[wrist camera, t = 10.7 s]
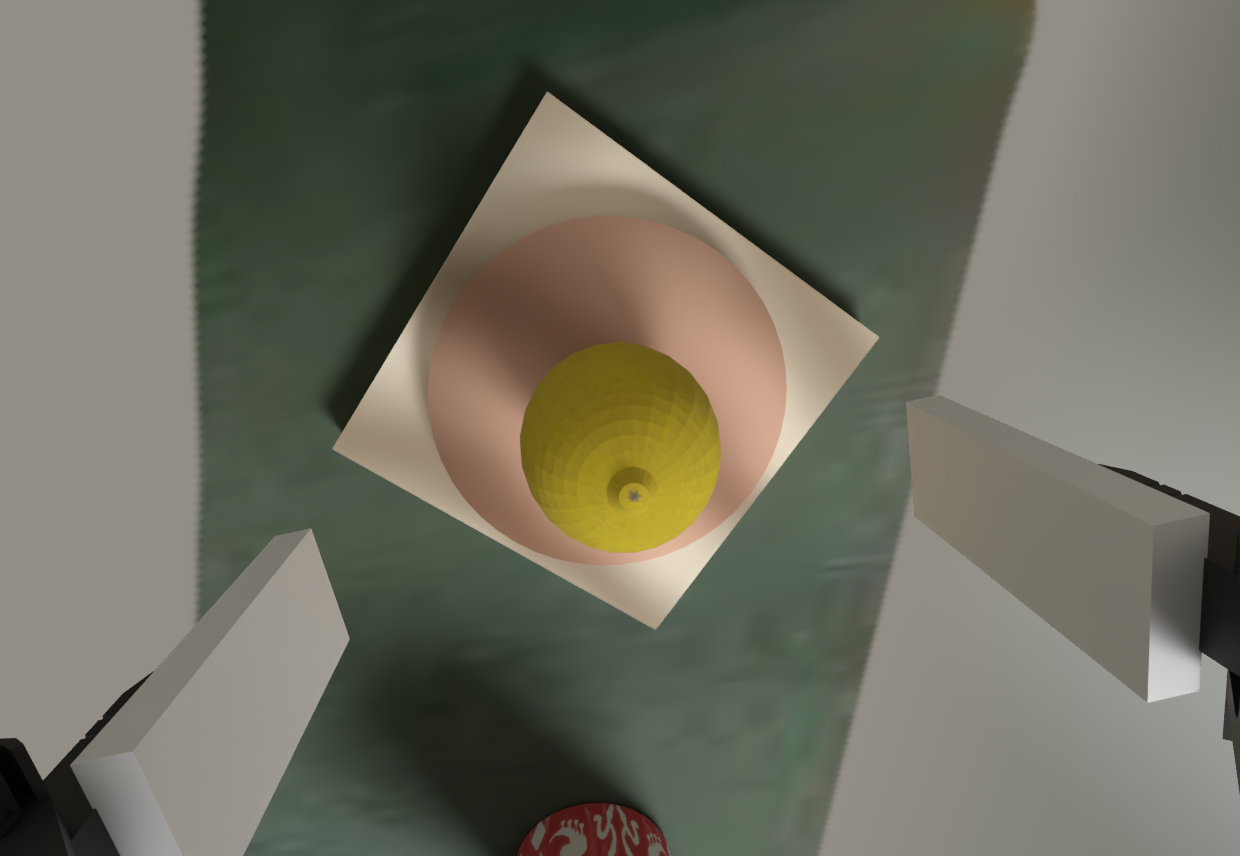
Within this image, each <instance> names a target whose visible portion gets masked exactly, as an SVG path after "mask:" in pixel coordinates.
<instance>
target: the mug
mask: <svg viewBox="0 0 1240 856" xmlns="http://www.w3.org/2000/svg"><path fill="white" fill-rule="evenodd" d="M517 856H670V852H669V849H668V846H667V843H666V841H665V838H664V836H663V835H662V833H661V832H660V830H659V829H658V828H657V827H656V826H655V824H654V823H653V822H652V821H650V820H649V819H648V818H647V817H645V816H643V815H642V814H640V813H638V812H636V811H634V810H632V809H630V808H626V807H623V806H620V805H615V804H608V803H588V804H581V805H575V806H572V807H568V808H566V809H563V810H560V811H558V812H556V813H554V814H552V815H550V816H548V817H547V818H545V819H544V820H542V821H541V822H539V823H538V824H537V825H536V826H535V827H534V828H533V829H532V830H531V831H530V832H529V833H528V835H527V836H526V838H525V839H524V841H523V842H522V844H521V846H520V849H519V851H518V854H517Z"/></svg>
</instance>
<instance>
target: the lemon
mask: <svg viewBox="0 0 1240 856" xmlns="http://www.w3.org/2000/svg"><path fill="white" fill-rule="evenodd" d="M520 450H521V463H522V469H523V472H524V474H525V477H526V480H527V483H528V486H529V489H530V491H531V494H532V496H533V498H534V499H535V501H536V502H537V503H538V505H539V506H540V508H541V509H542V511H543V512H544V514H545V515H546V517H547V518H548V519H549V520H550V521H551V522H552V523H553V524H554V525H555V526H556V527H558V528H559V529H560V530H561V531H562V532H563V533H564V534H566V535H567V536H568V537H570V538H572V539H574V540H576V541H578V542H580V543H582V544H584V545H586V546H588V547H590V548H594V549H598V550H602V551H606V552H611V553H635V552H640V551H644V550H648V549H652V548H656V547H658V546H660V545H662V544H664V543H666V542H668V541H670V540H672V539H674V538H676V537H677V536H679V535H680V534H681V533H682V532H683V531H685V530H686V529H687V528H688V527H690V526H691V525H692V524H693V523H694V521H695V520H696V519H697V517H698V516H699V515H700V513H701V512H702V511H703V509H704V508H705V507H706V505H707V504H708V502H709V500H710V497H711V495H712V492H713V490H714V488H715V485H716V483H717V479H718V473H719V467H720V460H721V444H720V435H719V427H718V422H717V418H716V416H715V413H714V411H713V408H712V406H711V403H710V401H709V398H708V396H707V394H706V393H705V391H704V390H703V389H702V387H701V386H700V385H699V383H698V382H697V381H696V379H695V378H694V377H693V375H692V374H691V373H690V372H689V371H688V370H687V369H685V368H684V367H683V366H681V365H680V364H679V363H677V362H676V361H675V360H674V359H672V358H671V357H670V356H668V355H666V354H663V353H661V352H659V351H656V350H654V349H652V348H649V347H647V346H644V345H637V344H631V343H624V342H616V343H607V344H597V345H594V346H591V347H588V348H586V349H583V350H580V351H578V352H575V353H573V354H572V355H570V356H569V357H567V358H566V359H564V360H563V361H561V362H560V363H558V364H557V365H555V366H554V367H553V368H552V369H551V370H550V371H549V373H548V374H547V375H546V376H545V377H544V378H543V380H542V381H541V382H540V383H539V384H538V385H537V387H536V389H535V391H534V393H533V395H532V397H531V399H530V401H529V403H528V405H527V407H526V409H525V413H524V418H523V423H522V428H521V433H520Z"/></svg>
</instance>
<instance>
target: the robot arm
mask: <svg viewBox="0 0 1240 856" xmlns="http://www.w3.org/2000/svg"><path fill="white" fill-rule="evenodd" d="M906 409H907V423H908V436H909V450H910V463H911V477H912V490H913V504H914V516H915V517H916V518H918V519H919V520H920V521H921V522H922V523H924V524H925V525H926V526H927V527H929V528H930V529H931V530H932V531H934V532H935V533H936V534H937V535H939V536H940V537H941V538H942V539H944V540H945V541H946V542H948V543H949V544H950V545H951V546H952V547H954V548H955V549H956V550H957V551H959V552H960V553H961V554H962V555H964V556H965V557H966V558H967V559H969V560H970V561H971V562H972V563H974V564H975V565H976V566H977V567H979V568H980V569H981V570H982V571H984V572H985V573H986V574H988V575H989V576H990V577H991V578H992V579H994V580H995V581H996V582H997V583H999V584H1000V585H1001V586H1002V587H1004V588H1005V589H1006V590H1007V591H1009V592H1010V593H1011V594H1013V595H1014V596H1015V597H1016V598H1017V599H1019V600H1020V601H1021V602H1022V603H1024V604H1025V605H1026V606H1027V607H1029V608H1030V609H1031V610H1032V611H1034V612H1035V613H1036V614H1037V615H1039V616H1040V617H1041V618H1042V619H1044V620H1045V621H1046V622H1047V623H1049V624H1050V625H1051V626H1052V627H1054V628H1055V629H1056V630H1057V631H1059V632H1060V633H1061V634H1062V635H1064V636H1065V637H1066V638H1067V639H1069V640H1070V641H1071V642H1072V643H1074V644H1075V645H1076V646H1077V647H1079V648H1080V649H1081V650H1082V651H1083V652H1085V653H1086V654H1087V655H1088V656H1090V657H1091V658H1092V659H1093V660H1095V661H1096V662H1097V663H1098V664H1100V665H1101V666H1102V667H1103V668H1105V669H1106V670H1107V671H1108V672H1110V673H1111V674H1112V675H1113V676H1115V677H1116V678H1117V679H1118V680H1120V681H1121V682H1122V683H1123V684H1125V685H1126V686H1127V687H1128V688H1130V689H1131V690H1132V691H1133V692H1135V693H1136V694H1137V695H1138V696H1140V697H1141V698H1142V699H1143V700H1145V701H1146V702H1153V701H1157V700H1161V699H1166V698H1170V697H1174V696H1179V695H1183V694H1188V693H1192V692H1197V691H1199V689H1200V672H1201V656H1202V653H1204V654H1205V655H1207V656H1208V657H1210V658H1212V659H1213V660H1215V661H1216V662H1218V663H1219V664H1221V665H1222V666H1224V667H1225V668H1227V669H1228V672H1227V687H1226V701H1225V714H1224V728H1223V739H1226V740H1230V741H1233V748H1234V755H1235V762H1236V769H1237V777H1238V784H1239V791H1240V516H1237V515H1235V514H1233V513H1230V512H1228V511H1226V510H1223V509H1221V508H1218V507H1216V506H1214V505H1211V504H1209V503H1207V502H1204V501H1202V500H1200V499H1197V498H1195V497H1192V496H1190V495H1188V494H1184V495H1182V494H1181V492H1180V491H1178V490H1176V489H1173V488H1171V487H1168V486H1166V485H1160V484H1159V482H1157V481H1155V480H1152V479H1150V478H1147V477H1145V476H1143V475H1140V474H1138V473H1136V472H1133V471H1129V470H1124V469H1120V468H1115V467H1110V466H1106V465H1101V464H1096V463H1093V462H1091V461H1089V460H1087V459H1084V458H1082V457H1080V456H1077V455H1075V454H1073V453H1071V452H1068V451H1066V450H1064V449H1062V448H1059V447H1057V446H1054V445H1052V444H1050V443H1048V442H1045V441H1043V440H1041V439H1039V438H1036V437H1034V436H1032V435H1029V434H1027V433H1025V432H1023V431H1020V430H1018V429H1015V428H1013V427H1011V426H1009V425H1006V424H1004V423H1002V422H1000V421H997V420H995V419H993V418H991V417H988V416H986V415H984V414H981V413H979V412H977V411H975V410H972V409H970V408H968V407H965V406H963V405H961V404H958V403H956V402H954V401H952V400H949V399H947V398H945V397H942V396H940V395H938V396H934V397H929V398H924V399H920V400H915V401H910V402H906ZM349 640H350V639H349V636H348V633H347V630H346V627H345V624H344V621H343V618H342V616H341V613H340V610H339V607H338V604H337V601H336V598H335V596H334V593H333V590H332V587H331V584H330V581H329V578H328V575H327V573H326V570H325V567H324V564H323V561H322V558H321V555H320V553H319V550H318V547H317V544H316V541H315V538H314V535H313V532H312V530H311V529H306V530H302V531H297V532H292V533H288V534H283V535H278V536H275V537H274V538H273V539H272V540H271V541H270V543H269V544H268V545H267V546H266V547H265V548H264V549H263V550H262V552H261V553H260V554H259V555H258V556H257V557H256V558H255V559H254V560H253V562H252V563H251V564H250V565H249V566H248V567H247V568H246V569H245V570H244V572H243V573H242V574H241V575H240V576H239V577H238V578H237V579H236V581H235V582H234V583H233V584H232V585H231V586H230V587H229V588H228V589H227V591H226V592H225V593H224V594H223V595H222V596H221V597H220V598H219V600H218V601H217V602H216V603H215V604H214V605H213V606H212V607H211V608H210V610H209V611H208V612H207V613H206V614H205V615H204V616H203V617H202V618H201V620H200V621H199V622H198V623H197V624H196V625H195V626H194V627H193V629H192V630H191V631H190V632H189V633H188V634H187V635H186V636H185V637H184V639H183V640H182V641H181V642H180V643H179V644H178V645H177V646H176V648H175V649H174V650H173V651H172V652H171V653H170V654H169V655H168V657H167V658H166V659H165V660H164V661H163V662H162V663H161V664H160V665H159V667H158V668H157V669H156V670H155V671H153V672H152V673H150V674H149V675H148V676H146V677H145V678H144V679H142V680H141V681H139V682H138V683H137V684H135V685H134V686H133V687H131V688H130V689H129V690H127V691H126V692H125V693H123V694H122V695H121V696H120V697H119V699H118V700H117V701H116V702H115V703H114V704H113V705H112V706H111V707H110V708H109V709H108V711H107V712H106V713H105V714H104V715H103V720H98V721H97V723H96V724H95V725H94V726H93V727H92V728H91V729H90V730H89V731H88V732H87V734H86V738H85V739H81V740H80V741H79V742H78V743H77V744H76V745H75V746H74V748H73V749H72V750H71V751H70V752H69V753H68V754H67V755H66V756H65V757H64V758H63V759H62V761H61V762H60V763H59V764H58V765H57V766H56V767H55V768H54V769H53V771H52V772H51V773H50V774H49V775H48V776H47V777H46V778H45V779H44V780H42V779H41V777H40V775H39V773H38V771H37V769H36V767H35V765H34V763H33V762H32V760H31V758H30V756H29V754H28V752H27V750H26V748H25V746H24V745H23V743H22V742H20V741H19V740H18V739H16V738H8V739H7V738H6V739H0V856H243V855H244V853H245V851H246V849H247V847H248V845H249V843H250V841H251V839H252V837H253V835H254V833H255V831H256V829H257V827H258V825H259V823H260V820H261V818H262V816H263V814H264V812H265V810H266V808H267V806H268V804H269V802H270V800H271V798H272V796H273V794H274V792H275V790H276V788H277V786H278V784H279V782H280V780H281V778H282V776H283V774H284V772H285V770H286V768H287V766H288V764H289V762H290V759H291V757H292V755H293V753H294V751H295V749H296V747H297V745H298V743H299V741H300V739H301V737H302V735H303V733H304V731H305V729H306V727H307V725H308V723H309V721H310V719H311V717H312V715H313V713H314V711H315V709H316V707H317V705H318V703H319V701H320V698H321V696H322V694H323V692H324V690H325V688H326V686H327V684H328V682H329V680H330V678H331V676H332V674H333V672H334V670H335V668H336V666H337V664H338V662H339V660H340V658H341V656H342V654H343V652H344V650H345V648H346V646H347V644H348V642H349Z"/></svg>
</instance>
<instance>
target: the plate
mask: <svg viewBox="0 0 1240 856" xmlns="http://www.w3.org/2000/svg"><path fill="white" fill-rule="evenodd" d="M878 338H879V337H878V336H877V335H876V334H874V333H873V332H872V331H870V330H869V329H867V328H866V327H865V326H863V325H862V324H861V323H859V322H858V321H857V320H855V319H854V318H853V317H851V316H850V315H849V314H847V313H846V312H844V311H843V310H842V309H840V308H839V307H838V306H836V305H835V304H834V303H832V302H831V301H830V300H828V299H827V298H826V297H824V296H823V295H822V294H820V293H819V292H817V291H816V290H815V289H813V288H812V287H811V286H809V285H808V284H807V283H805V282H804V281H803V280H801V279H800V278H799V277H797V276H796V275H794V274H793V273H792V272H790V271H789V270H788V269H786V268H785V267H784V266H782V265H781V264H780V263H778V262H777V261H776V260H774V259H773V258H772V257H770V256H769V255H767V254H766V253H765V252H763V251H762V250H761V249H759V248H758V247H757V246H755V245H754V244H753V243H751V242H750V241H749V240H747V239H746V238H744V237H743V236H742V235H740V234H739V233H738V232H736V231H735V230H734V229H732V228H731V227H730V226H728V225H727V224H726V223H724V222H723V221H722V220H720V219H719V218H717V217H716V216H715V215H713V214H712V213H711V212H709V211H708V210H707V209H705V208H704V207H703V206H701V205H700V204H699V203H697V202H696V201H695V200H693V199H692V198H690V197H689V196H688V195H686V194H685V193H684V192H682V191H681V190H680V189H678V188H677V187H676V186H674V185H673V184H672V183H670V182H669V181H667V180H666V179H665V178H663V177H662V176H661V175H659V174H658V173H657V172H655V171H654V170H653V169H651V168H650V167H649V166H647V165H646V164H645V163H643V162H642V161H640V160H639V159H638V158H636V157H635V156H634V155H632V154H631V153H630V152H628V151H627V150H626V149H624V148H623V147H622V146H620V145H619V144H617V143H616V142H615V141H613V140H612V139H611V138H609V137H608V136H607V135H605V134H604V133H603V132H601V131H600V130H599V129H597V128H596V127H595V126H593V125H592V124H590V123H589V122H588V121H586V120H585V119H584V118H582V117H581V116H580V115H578V114H577V113H576V112H574V111H573V110H572V109H570V108H569V107H567V106H566V105H565V104H563V103H562V102H561V101H559V100H558V99H557V98H555V97H554V96H553V95H551V94H550V93H549V92H547V93H546V94H545V96H544V98H543V99H542V101H541V103H540V104H539V106H538V108H537V109H536V111H535V113H534V114H533V116H532V117H531V119H530V121H529V122H528V124H527V126H526V127H525V129H524V131H523V132H522V134H521V136H520V137H519V139H518V141H517V142H516V144H515V146H514V147H513V149H512V151H511V152H510V154H509V156H508V157H507V159H506V161H505V162H504V164H503V166H502V167H501V169H500V171H499V172H498V174H497V176H496V177H495V179H494V181H493V182H492V184H491V186H490V187H489V189H488V191H487V192H486V194H485V196H484V197H483V199H482V201H481V202H480V204H479V206H478V207H477V209H476V211H475V212H474V214H473V216H472V217H471V219H470V221H469V222H468V224H467V226H466V227H465V229H464V231H463V232H462V234H461V236H460V237H459V239H458V241H457V242H456V244H455V246H454V247H453V249H452V251H451V252H450V254H449V256H448V257H447V259H446V261H445V262H444V264H443V266H442V267H441V269H440V271H439V272H438V274H437V276H436V277H435V279H434V281H433V282H432V284H431V286H430V287H429V289H428V290H427V292H426V294H425V295H424V297H423V299H422V300H421V302H420V304H419V305H418V307H417V309H416V310H415V312H414V314H413V315H412V317H411V319H410V320H409V322H408V324H407V325H406V327H405V329H404V330H403V332H402V334H401V335H400V337H399V339H398V340H397V342H396V344H395V345H394V347H393V349H392V350H391V352H390V354H389V355H388V357H387V359H386V360H385V362H384V364H383V365H382V367H381V369H380V370H379V372H378V374H377V375H376V377H375V379H374V380H373V382H372V384H371V385H370V387H369V389H368V390H367V392H366V394H365V395H364V397H363V399H362V400H361V402H360V404H359V405H358V407H357V409H356V410H355V412H354V414H353V415H352V417H351V419H350V420H349V422H348V424H347V425H346V427H345V429H344V430H343V432H342V434H341V435H340V437H339V439H338V440H337V442H336V444H335V445H334V447H333V450H335V451H337V452H338V453H340V454H342V455H344V456H346V457H347V458H349V459H351V460H353V461H354V462H356V463H358V464H360V465H362V466H363V467H365V468H367V469H369V470H371V471H372V472H374V473H376V474H378V475H379V476H381V477H383V478H385V479H387V480H388V481H390V482H392V483H394V484H396V485H397V486H399V487H401V488H403V489H405V490H406V491H408V492H410V493H412V494H413V495H415V496H417V497H419V498H421V499H422V500H424V501H426V502H428V503H430V504H431V505H433V506H435V507H437V508H438V509H440V510H442V511H444V512H446V513H447V514H449V515H451V516H453V517H455V518H456V519H458V520H460V521H462V522H464V523H465V524H467V525H469V526H471V527H472V528H474V529H476V530H478V531H480V532H481V533H483V534H485V535H487V536H489V537H490V538H492V539H494V540H496V541H498V542H499V543H501V544H503V545H505V546H506V547H508V548H510V549H512V550H514V551H515V552H517V553H519V554H521V555H523V556H524V557H526V558H528V559H530V560H531V561H533V562H535V563H537V564H539V565H540V566H542V567H544V568H546V569H548V570H549V571H551V572H553V573H555V574H557V575H558V576H560V577H562V578H564V579H565V580H567V581H569V582H571V583H573V584H574V585H576V586H578V587H580V588H582V589H583V590H585V591H587V592H589V593H590V594H592V595H594V596H596V597H598V598H599V599H601V600H603V601H605V602H607V603H608V604H610V605H612V606H614V607H616V608H617V609H619V610H621V611H623V612H624V613H626V614H628V615H630V616H632V617H633V618H635V619H637V620H639V621H641V622H642V623H644V624H646V625H648V626H649V627H651V628H653V629H655V630H656V629H657V627H658V626H659V625H660V623H661V622H662V621H663V620H664V618H665V617H666V616H667V614H668V613H669V612H670V610H671V609H672V608H673V606H674V605H675V604H676V603H677V601H678V600H679V599H680V597H681V596H682V595H683V593H684V592H685V591H686V589H687V588H688V587H689V586H690V584H691V583H692V582H693V580H694V579H695V578H696V576H697V575H698V574H699V572H700V571H701V570H702V569H703V567H704V566H705V565H706V563H707V562H708V561H709V559H710V558H711V557H712V555H713V554H714V553H715V552H716V550H717V549H718V548H719V546H720V545H721V544H722V542H723V541H724V540H725V538H726V537H727V536H728V535H729V533H730V532H731V531H732V529H733V528H734V527H735V525H736V524H737V523H738V521H739V520H740V519H741V518H742V516H743V515H744V514H745V512H746V511H747V510H748V508H749V507H750V506H751V504H752V503H753V502H754V501H755V499H756V498H757V497H758V495H759V494H760V493H761V491H762V490H763V489H764V487H765V486H766V485H767V484H768V482H769V481H770V480H771V478H772V477H773V476H774V474H775V473H776V472H777V470H778V469H779V468H780V467H781V465H782V464H783V463H784V461H785V460H786V459H787V457H788V456H789V455H790V453H791V452H792V451H793V450H794V448H795V447H796V446H797V444H798V443H799V442H800V440H801V439H802V438H803V436H804V435H805V434H806V433H807V431H808V430H809V429H810V427H811V426H812V425H813V423H814V422H815V421H816V419H817V418H818V417H819V416H820V414H821V413H822V412H823V410H824V409H825V408H826V406H827V405H828V404H829V402H830V401H831V400H832V398H833V397H834V396H835V395H836V393H837V392H838V391H839V389H840V388H841V387H842V385H843V384H844V383H845V381H846V380H847V379H848V378H849V376H850V375H851V374H852V372H853V371H854V370H855V368H856V367H857V366H858V364H859V363H860V362H861V361H862V359H863V358H864V357H865V355H866V354H867V353H868V351H869V350H870V349H871V347H872V346H873V345H874V344H875V342H876V341H877V340H878ZM616 342H624V343H631V344H637V345H644V346H647V347H649V348H652V349H654V350H656V351H659V352H661V353H663V354H666V355H668V356H670V357H671V358H672V359H674V360H675V361H676V362H677V363H679V364H680V365H681V366H683V367H684V368H685V369H687V370H688V371H689V372H690V373H691V374H692V375H693V377H694V378H695V379H696V381H697V382H698V383H699V385H700V386H701V387H702V389H703V390H704V391H705V393H706V394H707V396H708V398H709V401H710V403H711V406H712V408H713V411H714V413H715V416H716V418H717V422H718V427H719V435H720V444H721V460H720V467H719V473H718V479H717V483H716V485H715V488H714V490H713V492H712V495H711V497H710V500H709V502H708V504H707V505H706V507H705V508H704V509H703V511H702V512H701V513H700V515H699V516H698V517H697V519H696V520H695V521H694V523H693V524H692V525H691V526H690V527H688V528H687V529H686V530H685V531H683V532H682V533H681V534H680V535H679V536H677V537H676V538H674V539H672V540H670V541H668V542H666V543H664V544H662V545H660V546H658V547H656V548H652V549H648V550H644V551H640V552H635V553H611V552H606V551H602V550H598V549H594V548H590V547H588V546H586V545H584V544H582V543H580V542H578V541H576V540H574V539H572V538H570V537H568V536H567V535H566V534H564V533H563V532H562V531H561V530H560V529H559V528H558V527H556V526H555V525H554V524H553V523H552V522H551V521H550V520H549V519H548V518H547V517H546V515H545V514H544V512H543V511H542V509H541V508H540V506H539V505H538V503H537V502H536V501H535V499H534V498H533V496H532V494H531V491H530V489H529V486H528V483H527V480H526V477H525V474H524V472H523V469H522V463H521V450H520V433H521V428H522V423H523V418H524V413H525V409H526V407H527V405H528V403H529V401H530V399H531V397H532V395H533V393H534V391H535V389H536V387H537V385H538V384H539V383H540V382H541V381H542V380H543V378H544V377H545V376H546V375H547V374H548V373H549V371H550V370H551V369H552V368H553V367H554V366H555V365H557V364H558V363H560V362H561V361H563V360H564V359H566V358H567V357H569V356H570V355H572V354H573V353H575V352H578V351H580V350H583V349H586V348H588V347H591V346H594V345H597V344H607V343H616Z"/></svg>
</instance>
